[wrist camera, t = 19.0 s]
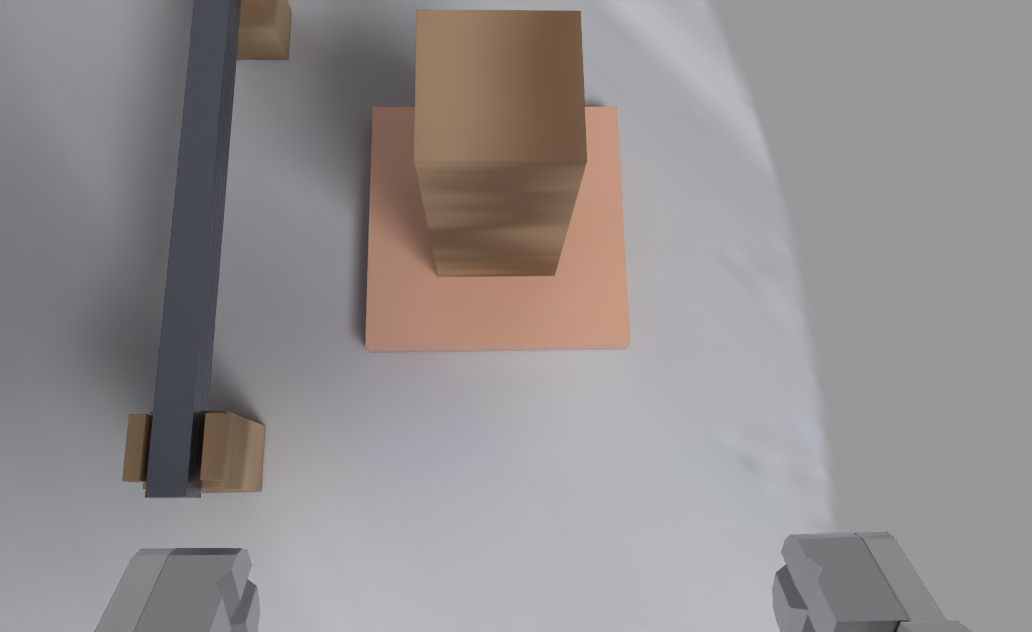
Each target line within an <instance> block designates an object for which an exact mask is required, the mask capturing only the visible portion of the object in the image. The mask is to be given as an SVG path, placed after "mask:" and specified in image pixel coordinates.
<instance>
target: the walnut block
mask: <svg viewBox="0 0 1032 632" xmlns="http://www.w3.org/2000/svg"><path fill="white" fill-rule="evenodd" d="M414 163H415V168H416V173H417V177H418V182H419V187H420V192H421V197H422V201H423V206H424V211H425V216H426V221H427V226H428V230H429V235H430V240H431V245H432V250H433V254H434V259H435V264H436V269H437V274H438V277H500V276H555V273H556V270H557V266H558V263H559V259H560V256H561V252H562V249H563V245H564V241H565V238H566V234H567V231H568V227H569V224H570V220H571V217H572V213H573V210H574V206H575V202H576V199H577V195H578V192H579V188H580V185H581V181H582V178H583V174H584V171H585V167H586V163H587V143H586V121H585V99H584V77H583V55H582V32H581V11H529V10H417V11H416V72H415V132H414Z"/></svg>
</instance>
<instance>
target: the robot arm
mask: <svg viewBox="0 0 1032 632" xmlns="http://www.w3.org/2000/svg"><path fill="white" fill-rule="evenodd" d="M781 553H782V556H783V558H784V560H785V563H786V565H785V566H783V567H782V568H781V569H780V570H779V571H777V572H776V574H775V579H774V583H773V588H772V592H773V608H774V613H775V617H776V621H777V624H778V626H779V629H780V632H973V631H971V630H970V629H968V628H967V627H966V626H964V625H962V624H961V623H959V622H958V621H947V620H946V618H945V617H944V615H943V613H942V612H941V610H940V609H939V607H938V606H937V604H936V602H935V601H934V599H933V598H932V596H931V594H930V593H929V591H928V590H927V588H926V587H925V585H924V583H923V582H922V580H921V579H920V577H919V575H918V574H917V572H916V571H915V569H914V568H913V566H912V564H911V563H910V561H909V559H908V558H907V557H906V555H905V553H904V552H903V550H902V548H901V547H900V545H899V544H898V542H897V540H896V539H895V537H894V536H892V535H891V534H890V533H888V532H864V533H825V534H797V535H789V536H788V537H787V538H786V539H785V541H784V544H783V548H782V551H781ZM251 566H252V565H251V561H250V558H249V554H248V551H247V550H246V549H243V548H175V549H140V550H139V551H138V552H137V553H136V554H135V555H134V556H133V557H132V558H131V560H130V562H129V564H128V566H127V568H126V570H125V572H124V574H123V576H122V578H121V580H120V582H119V584H118V586H117V588H116V590H115V592H114V594H113V596H112V598H111V600H110V602H109V604H108V606H107V608H106V610H105V612H104V614H103V616H102V618H101V620H100V621H99V623H98V625H97V627H96V629H95V631H94V632H258V624H259V616H260V606H259V595H258V591H257V586H256V585H255V584H253V583H252V582H251V581H249V580H248V579H247V578H248V575H249V572H250V569H251Z"/></svg>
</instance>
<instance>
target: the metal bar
mask: <svg viewBox="0 0 1032 632" xmlns="http://www.w3.org/2000/svg"><path fill="white" fill-rule="evenodd" d="M240 11H241V0H194V8H193V18H192V28H191V39H190V49H189V59H188V69H187V79H186V89H185V99H184V109H183V119H182V129H181V139H180V149H179V159H178V169H177V179H176V189H175V199H174V209H173V219H172V229H171V239H170V250H169V260H168V270H167V280H166V290H165V300H164V310H163V320H162V330H161V340H160V350H159V360H158V370H157V380H156V390H155V400H154V410H153V420H152V430H151V440H150V450H149V461H148V471H147V481H146V491H145V498H201V489H202V480H200V476H201V464H202V452H203V440H204V428H205V416H206V413H208V403H209V391H210V378H211V366H212V354H213V342H214V329H215V317H216V305H217V293H218V280H219V268H220V256H221V244H222V232H223V219H224V207H225V195H226V183H227V170H228V158H229V146H230V134H231V121H232V109H233V97H234V85H235V72H236V60H237V48H238V36H239V23H240Z"/></svg>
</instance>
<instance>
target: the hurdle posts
mask: <svg viewBox="0 0 1032 632" xmlns="http://www.w3.org/2000/svg"><path fill="white" fill-rule="evenodd" d="M290 25H291V9H290V6H289V3H288V1H287V0H241V11H240V23H239V36H238V48H237V59H275V60H288V57H289V41H290ZM152 420H153V412H151V413H150V415H148V414H129V422H128V432H127V441H126V450H125V460H124V469H123V478H122V481H128V482H144V483H143V489H146V481H147V471H148V461H149V450H150V440H151V430H152ZM264 440H265V426H264V425H262V424H259V423H256V422H254V421H251V420H249V419H246V418H244V417H241V416H239V415H236V414H234V413H231V412H229V411H208V413H206V416H205V428H204V440H203V452H202V464H201V476H200V480H202V489H201V493H205V492H259V491H261V488H262V472H263V456H264Z"/></svg>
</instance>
